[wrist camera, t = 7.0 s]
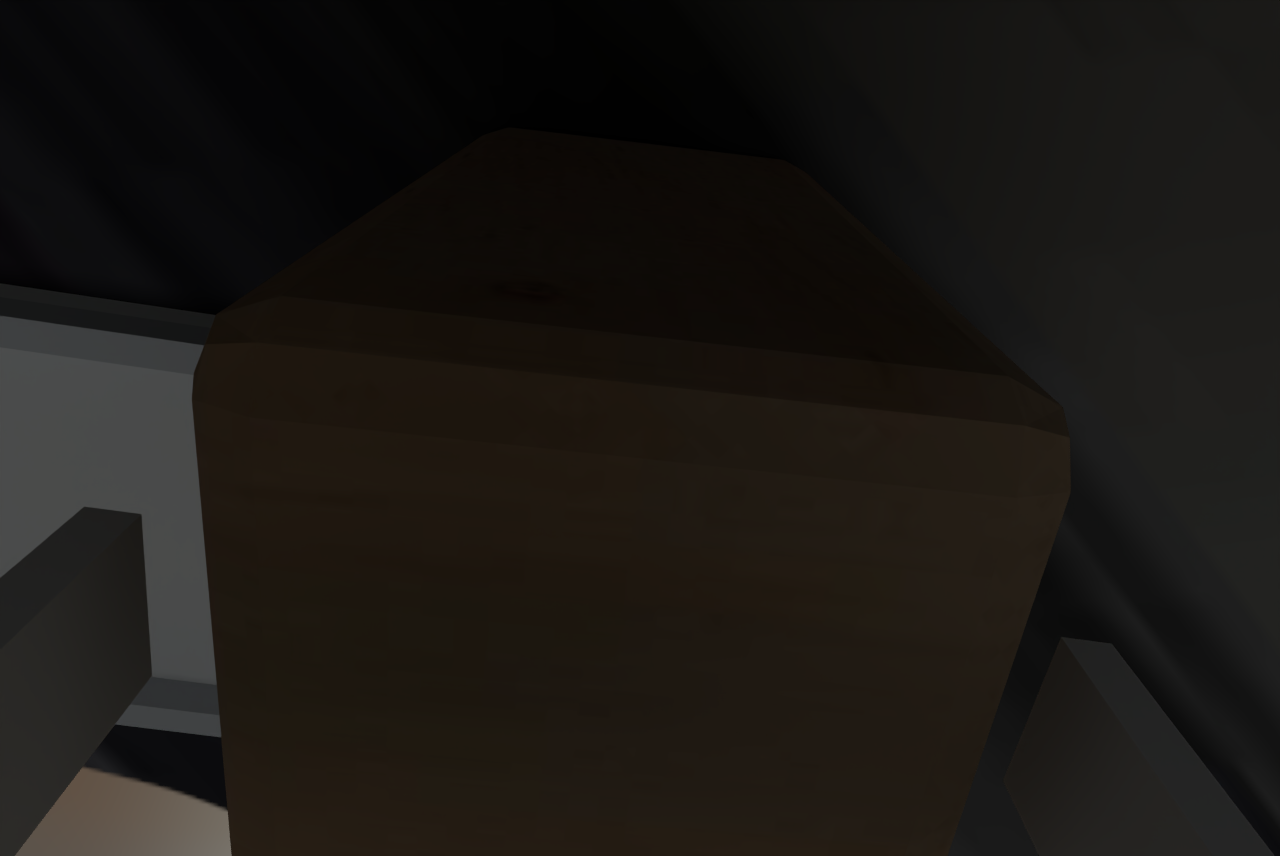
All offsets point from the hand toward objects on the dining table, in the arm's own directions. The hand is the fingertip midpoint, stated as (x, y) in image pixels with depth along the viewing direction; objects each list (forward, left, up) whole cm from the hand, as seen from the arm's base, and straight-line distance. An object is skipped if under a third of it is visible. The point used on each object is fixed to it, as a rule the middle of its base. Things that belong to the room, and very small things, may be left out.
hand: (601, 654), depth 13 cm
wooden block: (0, 0, -18) cm, 18 cm away
